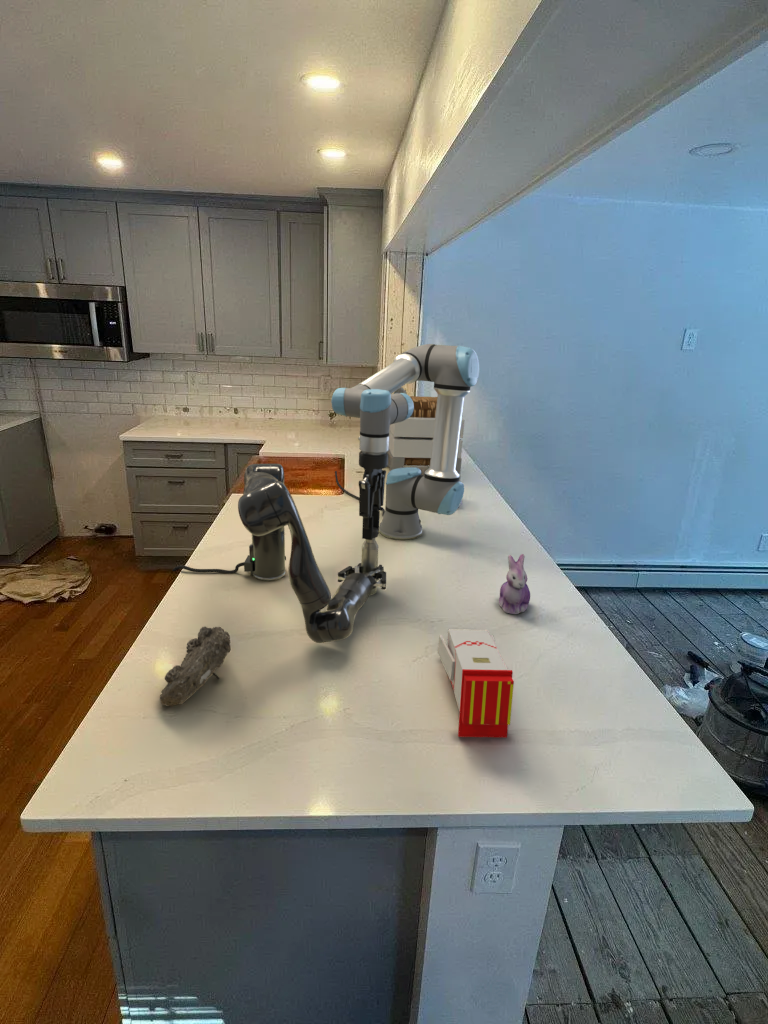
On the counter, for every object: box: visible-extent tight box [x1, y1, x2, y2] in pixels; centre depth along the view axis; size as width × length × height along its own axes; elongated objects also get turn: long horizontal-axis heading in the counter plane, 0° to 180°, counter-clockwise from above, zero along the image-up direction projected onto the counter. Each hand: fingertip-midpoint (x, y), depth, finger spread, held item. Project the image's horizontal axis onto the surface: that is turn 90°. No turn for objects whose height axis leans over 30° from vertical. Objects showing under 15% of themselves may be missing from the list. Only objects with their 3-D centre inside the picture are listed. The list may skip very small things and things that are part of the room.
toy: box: [437, 628, 515, 738], centre depth 117 cm, size 12×13×30 cm
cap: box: [373, 527, 379, 538], centre depth 153 cm, size 4×4×2 cm
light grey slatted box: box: [386, 386, 465, 482], centre depth 268 cm, size 34×33×41 cm
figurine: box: [498, 553, 531, 615], centre depth 151 cm, size 9×10×15 cm
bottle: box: [360, 537, 379, 596], centre depth 156 cm, size 4×4×18 cm
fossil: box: [159, 626, 232, 707], centre depth 118 cm, size 22×10×15 cm
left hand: (371, 566), depth 159 cm, fingers closed on bottle, 4 cm apart
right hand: (370, 535), depth 153 cm, fingers closed on cap, 4 cm apart
